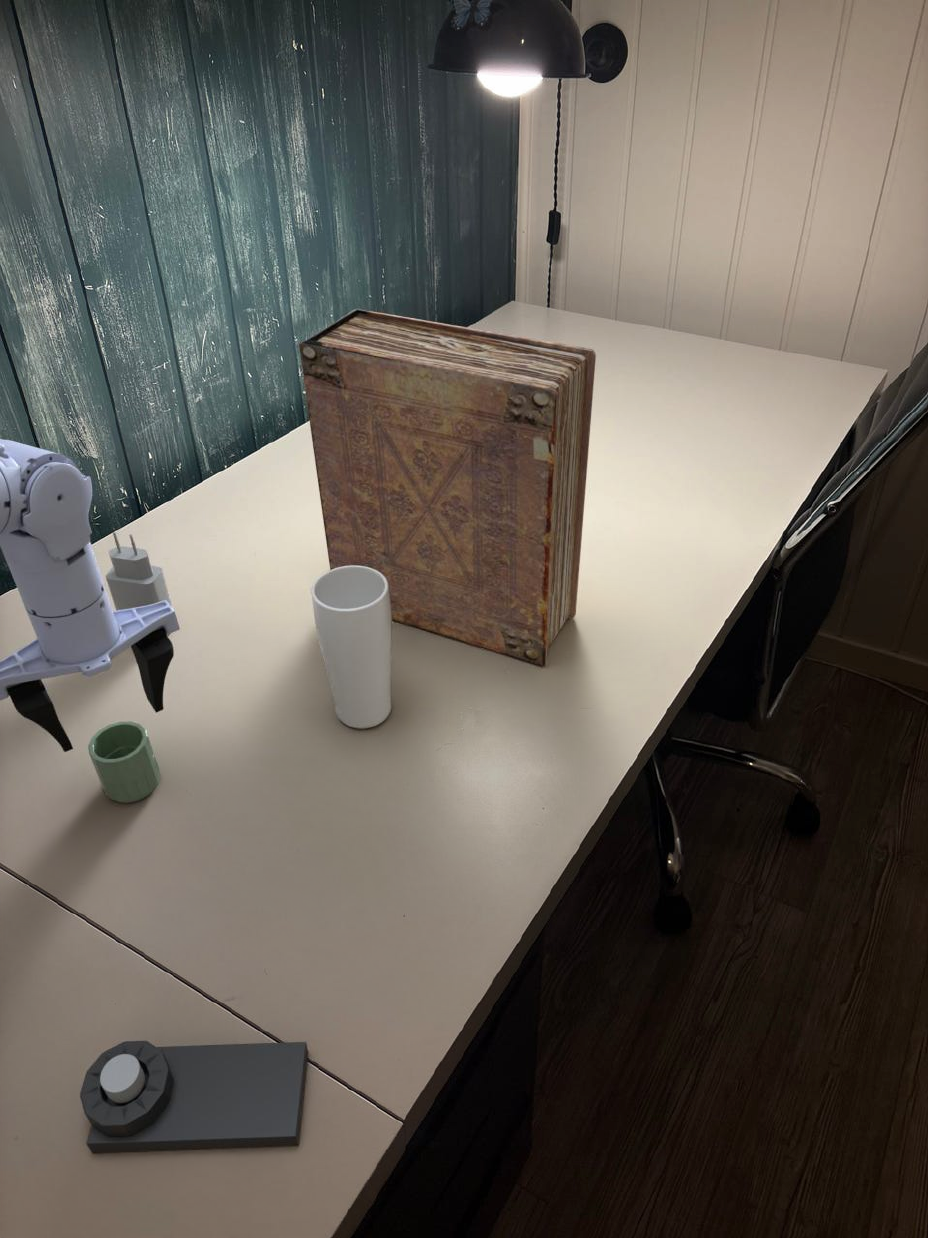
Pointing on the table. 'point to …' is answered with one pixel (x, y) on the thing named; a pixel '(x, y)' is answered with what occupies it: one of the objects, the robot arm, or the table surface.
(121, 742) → the green faceted cup
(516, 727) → the table surface
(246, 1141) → the scale
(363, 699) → the drinking glass
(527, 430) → the book
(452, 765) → the table surface
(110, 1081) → the button
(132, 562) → the power adapter
